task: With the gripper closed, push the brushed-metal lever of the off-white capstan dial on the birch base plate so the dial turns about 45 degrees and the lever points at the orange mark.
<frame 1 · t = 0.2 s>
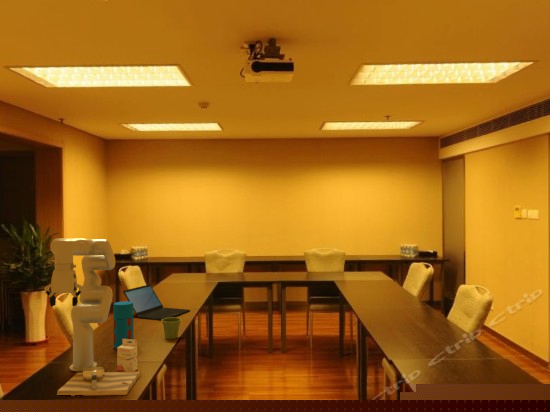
hand: (63, 305, 206), 36 cm above the table, tool pointing down, fingers open, 9 cm apart
plant pot: (171, 338, 282), on the table
base plate: (100, 385, 207), on the table
capstan dial: (93, 375, 206), point 5 cm above the table, hinge at 0.0°
laptop: (157, 314, 347), on the table
thermos: (123, 347, 265), on the table
ink cartridge box: (127, 370, 226), on the table
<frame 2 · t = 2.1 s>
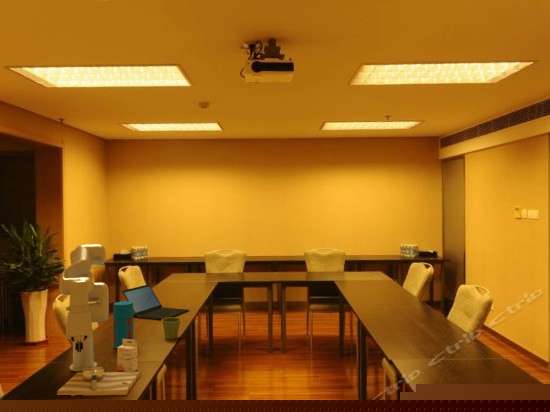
hand: (79, 351, 200), 17 cm above the table, tool pointing down, fingers closed
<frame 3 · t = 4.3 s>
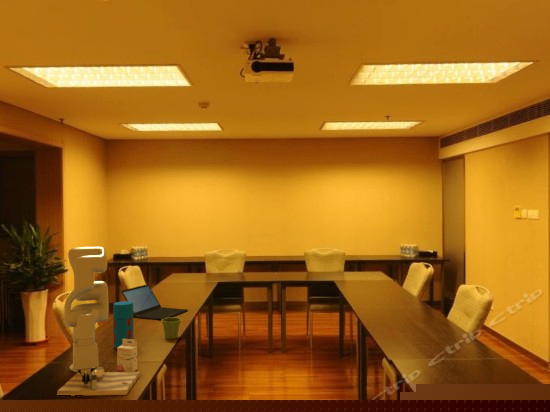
hand: (85, 383, 201), 3 cm above the table, tool pointing down, fingers closed
capstan dial: (93, 375, 206), point 5 cm above the table, hinge at 0.0°, touching gripper
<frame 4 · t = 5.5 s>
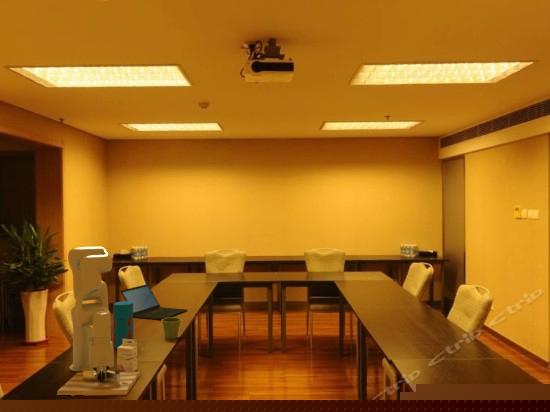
hand: (101, 381, 204), 3 cm above the table, tool pointing down, fingers closed
capstan dial: (102, 372, 208), point 5 cm above the table, hinge at 40.1°, touching gripper
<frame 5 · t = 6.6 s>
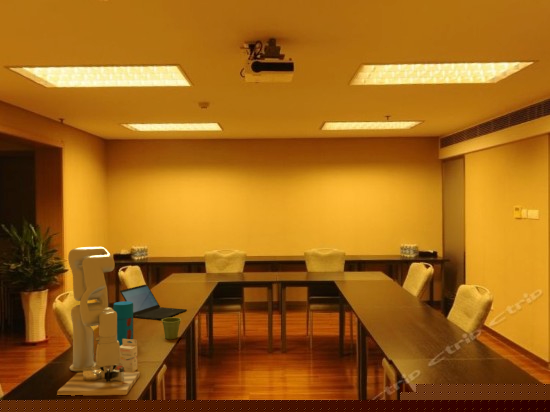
hand: (108, 380, 205), 3 cm above the table, tool pointing down, fingers closed
capstan dial: (104, 372, 209), point 5 cm above the table, hinge at 50.3°, touching gripper
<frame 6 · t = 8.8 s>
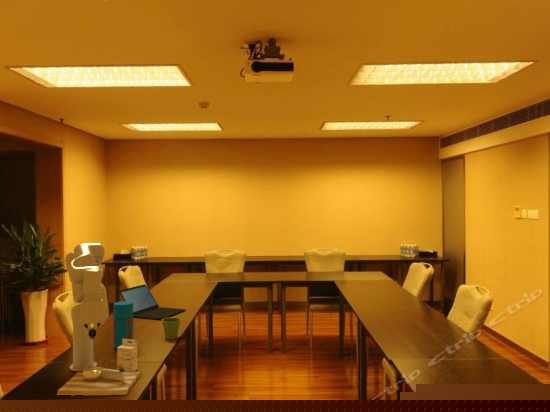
hand: (92, 338, 206), 22 cm above the table, tool pointing down, fingers closed
capstan dial: (104, 372, 209), point 5 cm above the table, hinge at 50.5°
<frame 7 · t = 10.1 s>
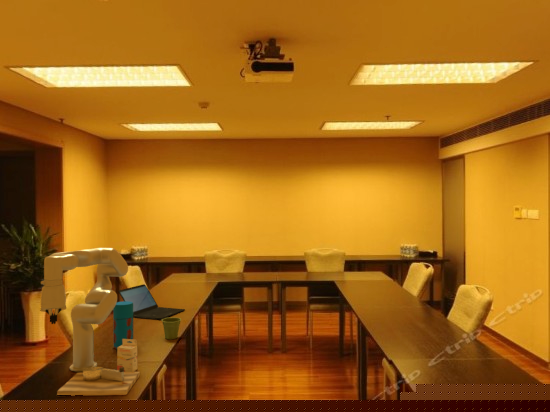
hand: (53, 323, 210), 27 cm above the table, tool pointing down, fingers closed
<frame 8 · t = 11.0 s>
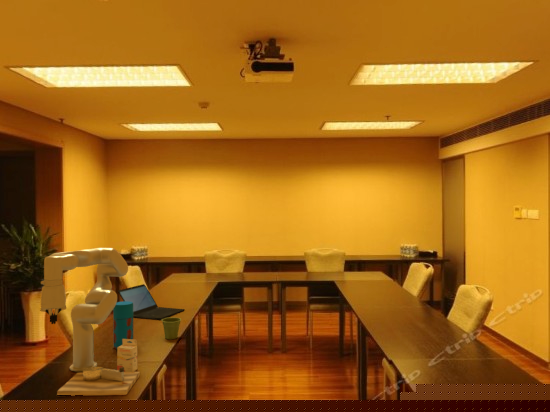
hand: (53, 323, 210), 27 cm above the table, tool pointing down, fingers closed
at the end: capstan dial at +50° (first picture: +0°) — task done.
